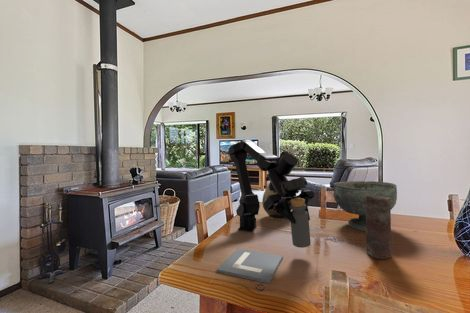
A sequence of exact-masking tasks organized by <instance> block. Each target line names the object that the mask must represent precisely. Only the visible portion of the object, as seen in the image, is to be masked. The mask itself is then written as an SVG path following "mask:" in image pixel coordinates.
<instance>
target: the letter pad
mask: <svg viewBox="0 0 470 313" xmlns="http://www.w3.org/2000/svg"><path fill="white" fill-rule="evenodd" d="M283 258H284V257H283V255H280V254H273V253H267V252H262V251H256V250H251V249H250V250H249V249H244V248H236V249H235V250H234V251H233V252H232V254H230V255H229V256H228V257H227V258H226V259H225V260H224V261H223V262H222V263H221V264H219V266H218V267H217V268H216V272H217V273H221V274H225V275H229V276H234V277H238V278H242V279H247V280H252V281H256V282H261V283H264V284H270V283H271V281H272V279H273V277H274V276H275V274H276V272H277V270H278V268H279V266H280V264H281V263H282V261H283Z"/></svg>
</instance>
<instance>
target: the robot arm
mask: <svg viewBox="0 0 470 313" xmlns="http://www.w3.org/2000/svg"><path fill="white" fill-rule="evenodd" d="M248 155H249V156H251V157H252V158H253V159H254V160H255V161H256V165H257V166H258V168H259V170H261V171H262V172H268V171H270V172H269V174H268V173H266V177H265V182H270V181H271V183H272V185H273V187H274V190H273V192H274V193H277V194H274V195H269V197H268V198H267V199H266V201H265V202H264V207H265V209H266V211H268V210H273V209H274V207H275V209H274V212H278V213H279V214H281V215H282V216H284V217H285V218H286V219H285V220H288V222H290V223H291V222H292V223H293V224H295V223H296V221H295V218H294V216H293V214H292V212H291V211H292V210H291V211H290V209H289V206H288V203H289V202H291V201H290V200H291V199H293V198H303V199H305V204H306V209H305V211H307V212H308V219H309V221H310V220H311V218H310V213H309V207H308V206H309V205H308V204H309V203H310V202H311V201H312V200H313V199H314V198H315V197H316V195H315V193H314V191H313V190H311V189H307V190H306V189H305V188H306V186H307V185H308V181H307V179H306V178H305V177H304V176H299V177H298V178H293V179H292V178H291V179H290V180H288V178H287V176H289V175H290V174H291V173H292V171H293V170H294V169H295V168H296V166H297V165H298V163H299V160H298V158H297V157H296V156H295V155H293V154H291V153H289V152H288V150H283V151H282V152H281V153H280V155H279V157H278V156H277V155H274V154H272V153H269V152H266V151H264V150H263V149H262V148H261V147H259V146H258V145H256V143H254V142H253V141H252V139H243V140H239V142H237V143H235V144H234V143H233V144H231V145H230V147H229V148H228V156H229V158H230V161H232V163H234V165H235V170H236V175H237V178H238V184H239V188H240V192H241V194H240V198H239V201H238V202H239V205H238V207H237V208H236V210H235V212H236V216H238V217H239V227H238V228H237V229H238V230H239V231H247V232H253V231H254V230H255V229H256V228H257V218H256V215H257V216H258V215H259V211H260V207H261V206H260V204H261V203H260V200H259V195H258V194H257V193H254V192H253V190H252V184H251V181H250V176H249V171H248V169H247V168H248V166H247V162H246V161H247V158H248ZM301 189H305V190H302V191H301V192H300V191H299V190H301ZM299 192H300V193H299ZM298 193H299V194H298ZM297 194H298V195H297ZM266 211H265V212H266Z"/></svg>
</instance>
